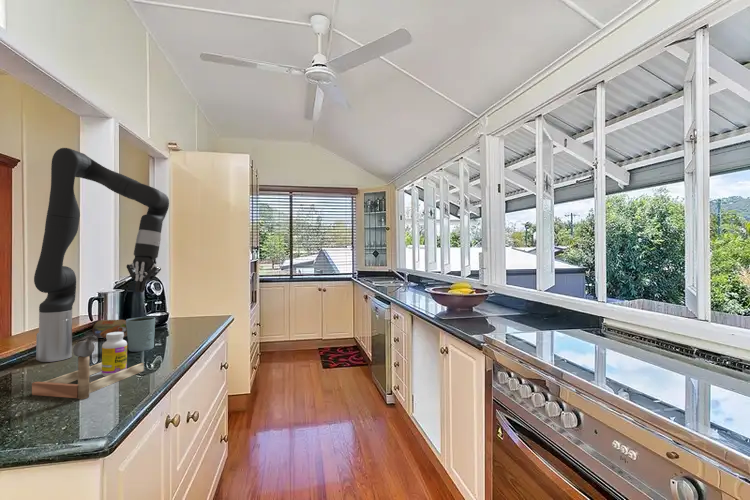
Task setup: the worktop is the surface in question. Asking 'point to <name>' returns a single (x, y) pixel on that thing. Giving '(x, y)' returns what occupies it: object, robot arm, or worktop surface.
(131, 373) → the wooden frame stand
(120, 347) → the supplement bottle
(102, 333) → the tin
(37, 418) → the worktop surface
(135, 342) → the grey green cup
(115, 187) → the robot arm
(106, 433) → the worktop surface
